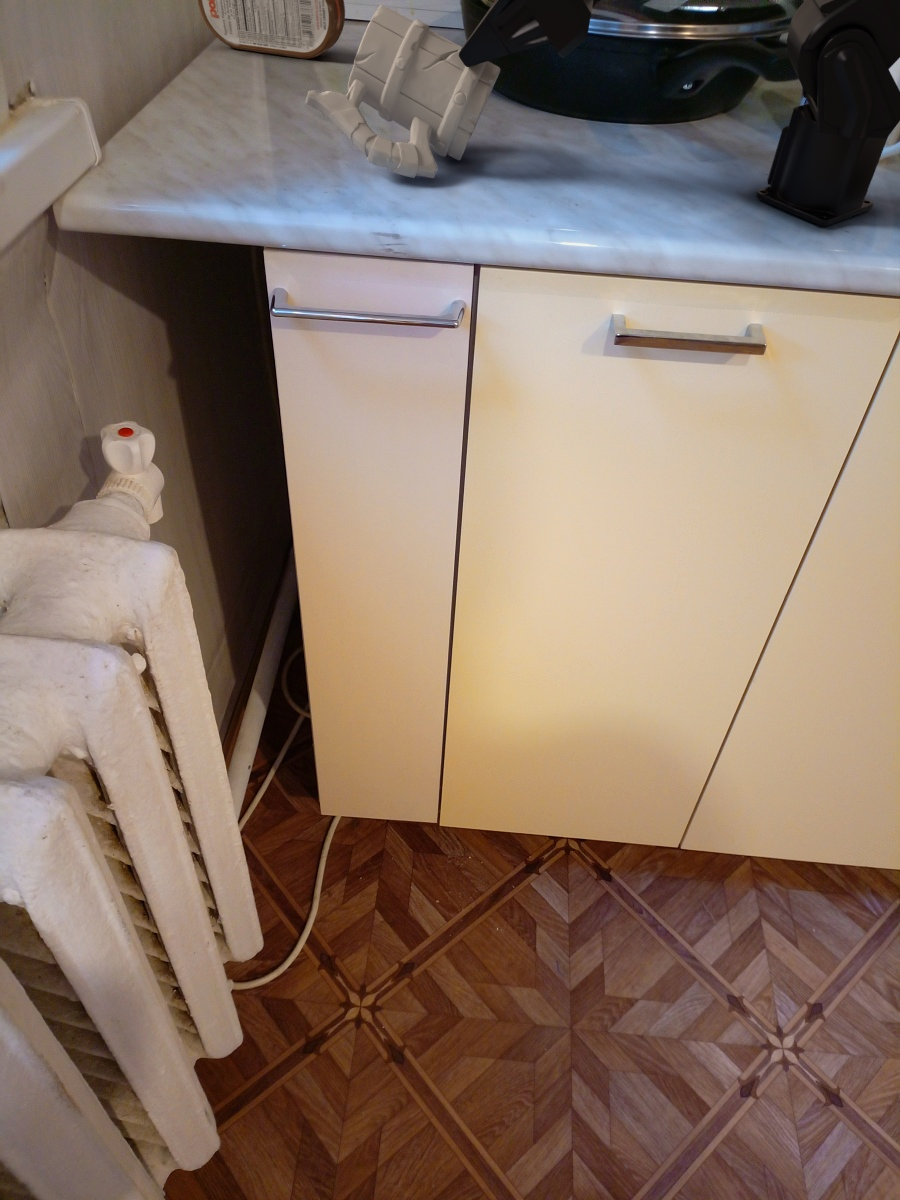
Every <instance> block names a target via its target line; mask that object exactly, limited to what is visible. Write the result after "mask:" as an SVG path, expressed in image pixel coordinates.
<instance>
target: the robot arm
mask: <svg viewBox="0 0 900 1200" xmlns="http://www.w3.org/2000/svg"><path fill="white" fill-rule="evenodd" d="M600 1H601V0H495V1H494V2H493V3H492V5H491V6H490V8H489V9H488V10H487V12H486V13H485V14H484V16H483V18H482V19H481V21H480V22H479V23H478V24H477V26H476V27H475V29H474V30H473V32H472V33H471V35H470V36H469V37H468V39H467V40H466V41H465V43H464V45H463V46H461V47H462V49H461V50H460V52H459V58H460V59H461V61H462V62H463V63H464V65H465V66H466V67H471V66H474V65H477V64H480V63H484V62H487V61H489V62H491V61H493V60H496V59H499V58H501V57H506V56H508V55H512V54H515V53H518V52H519V53H520V52H522V51H525V50H529V49H533V48H536V47H539V46H543V45H547V44H550V45H551V46H552V47H553V49H554V50H555V52H556V53H557V55H559V56H560V58H561V59H564V58H566V57H567V56H568V55H569V54H570V53H571V52H572V51H574V50H575V49H576V48H577V47H579V46H580V45H581V44H582V43H584V41H585V40H587V39H588V37H589V29H590V23H591V17H592V12H593V11H592V10H593V7H595V6H596V5H597V4H599V2H600ZM786 50H787V56H788V59H789V61H790V63H791V66H792V67H793V69H794V72H795V74H796V77H797V78H798V81H799V83H800V85H801V88H802V92H801V93H802V97H803V98H804V99H806V101H807V103H806V104H801V105H797V106H794V107H793V110H792V113H791V116H790V119H789V123H788V125H786V126H784V127H783V128H782V129H781V132H780V136H779V140H778V142H777V146H776V149H775V153H774V155H773V159H772V163H771V166H770V170H769V174H768V176H767V180H766V182H767V185H768V186H766V187H763V188H760V189H757V191H756V192H755V193H756V194H755V198H756V199H757V200H760V201H762V202H764V203H766V204H769V205H771V206H773V207H776V208H778V209H780V210H783V211H784V212H787V213H790V214H792V215H795V216H797V217H799V218H801V219H803V220H806V221H809V222H811V223H813V224H815V225H818V226H822V227H825V226H829V225H832V224H835V223H838V222H841V221H844V220H846V219H849V218H852V217H855V216H858V215H860V214H863V213H865V212H868V211H871V210H872V208H873V206H874V202H873V201H871V200H870V199H867V198H866V196H867V194H868V191H869V189H870V185H871V183H872V180H873V178H874V175H875V173H876V170H877V167H878V165H879V162H880V159H881V157H882V154H883V151H884V150H885V149H884V148H885V146H886V145H887V141H888V138H889V136H890V135H891V134H892V132H893V131H894V130H895V128H897V126H898V124H899V123H900V88H899V87H898V85H897V83H896V81H895V79H894V76H893V75H892V73H891V71H890V69H891V68H892V67H893V66H894V65H895V63H897V61H899V59H900V0H804V1H803V2H802V3H801V5H800V6H799V7H798V8H796V11H795V12H794V14H793V16H792V18H791V20H790V25H789V29H788V31H787V37H786Z"/></svg>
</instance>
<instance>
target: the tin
mask: <svg viewBox="0 0 900 1200" xmlns="http://www.w3.org/2000/svg"><path fill="white" fill-rule="evenodd" d="M196 1H197V3H198V4H197V5H198V7H199V8H198V9H199V11H200V15H201V17H202V19H203V20H204V24H205V25H206V26H207V27H208V30H210V32H211V33H212V34H213V35H214V36H215V37H216V38H217V39H218V40H219V41H221V42H222V43H224V44H225V45H226V46H229V47H230V48H234V49H236V50H242V51H248V52H250V51H251V52H256V53H262V54H263V53H264V54H270V55H277V56H284V57H290V58H297V59H314V58H317V57H318V56H320V55H323V54H324V53H325V52H326V51H328V50H329V49H332V47H334V45H336V43H337V42H338V40H339V39H340V37H341V35H342V33H343V30H344V27H345V21H346V6H345V5H346V4H345V0H196Z"/></svg>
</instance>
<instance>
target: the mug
mask: <svg viewBox="0 0 900 1200" xmlns="http://www.w3.org/2000/svg"><path fill="white" fill-rule="evenodd" d="M462 47H463V46H462V45H459V44H457V43H455V42H453V41H451V40H449V39H447V38H446V37H444V36H442V35H440V34H439V33H436V32H435V31H434V30H433V31H432V30H431V29H430V26H429V24H428V23H426V22H424V21H422V20H420V19H415V20H412V19H410V18H408V17H406V16H404V15H403V14H401V13H399V12H398V11H395V10H393V9H392V8H390V7H388V6H386V5H384V4H380V5H379V6H378V7H377V9H376V10H375V12H374V13H373V15H372V17H371V18H370V21H369V23H368V24H367V27H366V29H365V31H364V34H363V36H362V38H361V41H360V44H359V47H358V49H357V52H356V55H355V57H354V61H353V65H352V69H351V72H350V74H349V78H348V83H347V93H346V94H342V93H340V92H337V91H333V90H327V91H322V92H318V91H317V90H315V89H314V90H312V89H311V90H308V91H307V95H306V99H305V101H304V102H305V104H306V105H307V106H309V107H312V108H313V109H315V110H317V111H318V112H320V113H321V114H322V115H323V116H325V117H326V118H327V119H328V120H329V122H330V123H331V124H332V125H334V126H335V127H336V128H337V129H338V130H340V131H341V132H342V133H343V134H344V135H345V136H346V137H347V139H348V140H350V143H352V145H354V146H355V147H356V148H357V150H359V151H360V153H362V154H363V155H364V156H365V157H367V158H366V159H367V161H368V162H369V163H371V164H372V165H374V166H377V167H380V168H384V169H387V170H390V171H391V172H392V173H394V174H396V175H399V176H403V177H408V178H411V179H412V178H413V179H415V177H416V176H417V177H424V178H429V179H434V178H435V176H436V173H437V171H438V165H437V161H436V159H435V157H434V155H433V153H432V149H433V152H434V153H436V154H438V155H439V156H441V157H446V156H447V155H448V156H449V157H452V159H455V160H457V161H461V159H462V157H463V155H464V152H465V151H466V149H467V146H468V144H469V141H470V139H471V138H472V135H473V134H474V132H475V129H476V127H477V125H478V122H479V120H480V117H481V116H482V114H483V111H484V108H485V106H486V104H487V102H488V100H489V97H490V96H491V93H492V91H493V89H494V86H495V84H496V83H497V80H498V77H499V75H500V73H501V68H500V66H498V65H496V64H494V63H493V62H491V61H487V62H484V63H480V64H477V65H474V66H471V67H466V66H465V65H464V63H463V62H462V61H461V59H460V58H459V52H460V50H461V49H462ZM362 103H364V104H366V105H367V106H369V107H371V109H373V110H375V111H377V113H378V116H379V117H380V118H381V119H383V120H385V121H387V122H389V123H390V122H394V123H396V124H398V125H399V126H401V127H403V128H405V129H406V130H408V131H409V141H408V142H404V141H403V142H402V141H397V142H395V143H394V142H393V141H391V140H389V139H388V138H385V137H384V136H382V135H381V134H378V135H377V134H376V133H375V131H374V130H372V128H371V127H370V126H369V124H368V123H367V120H366V118H365V116H364V115H363V114H362V112H361V110H360V109H359V108H360V106H361V104H362ZM431 145H432V146H431ZM431 148H432V149H431Z"/></svg>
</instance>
